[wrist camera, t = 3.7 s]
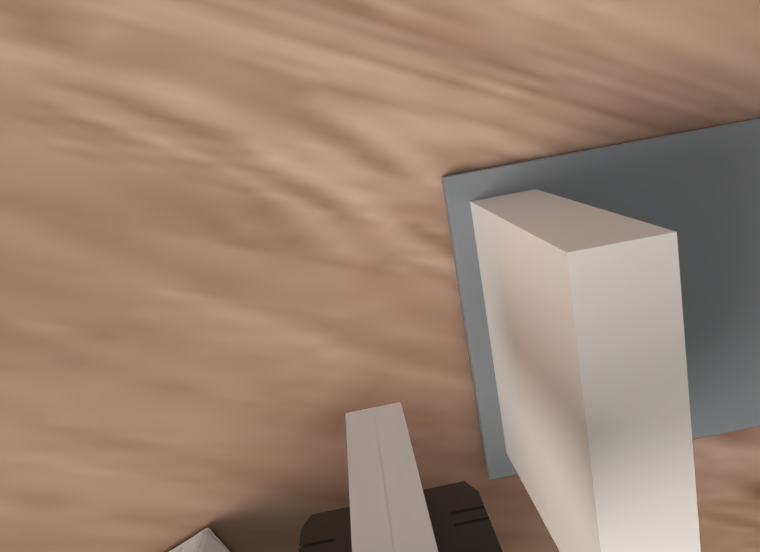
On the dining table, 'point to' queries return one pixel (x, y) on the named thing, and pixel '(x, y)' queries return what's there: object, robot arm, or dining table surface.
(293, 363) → the dining table surface
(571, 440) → the tile
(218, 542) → the tea box
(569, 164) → the mat
